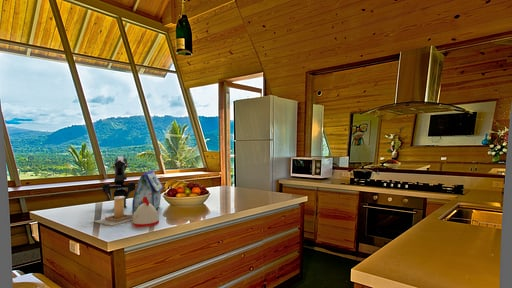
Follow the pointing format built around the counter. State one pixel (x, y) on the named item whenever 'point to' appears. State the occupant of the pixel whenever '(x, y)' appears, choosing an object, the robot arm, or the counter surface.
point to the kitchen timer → (145, 215)
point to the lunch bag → (147, 190)
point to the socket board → (115, 220)
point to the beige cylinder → (118, 207)
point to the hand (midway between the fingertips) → (119, 198)
